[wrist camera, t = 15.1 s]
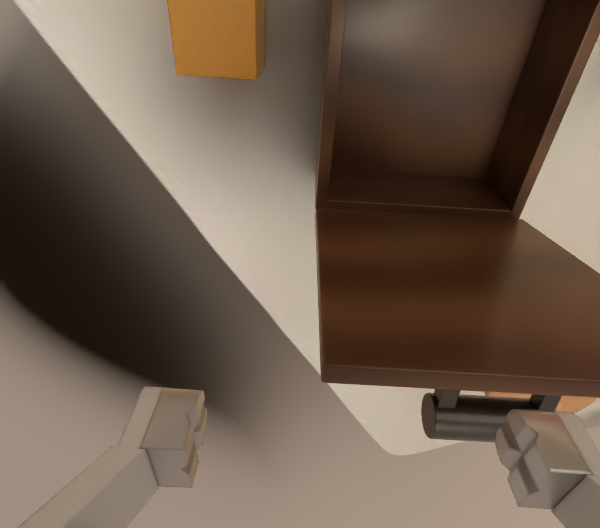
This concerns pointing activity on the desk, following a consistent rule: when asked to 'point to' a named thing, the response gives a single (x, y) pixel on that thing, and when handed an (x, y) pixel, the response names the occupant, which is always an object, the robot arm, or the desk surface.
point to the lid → (455, 314)
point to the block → (218, 37)
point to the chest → (445, 101)
